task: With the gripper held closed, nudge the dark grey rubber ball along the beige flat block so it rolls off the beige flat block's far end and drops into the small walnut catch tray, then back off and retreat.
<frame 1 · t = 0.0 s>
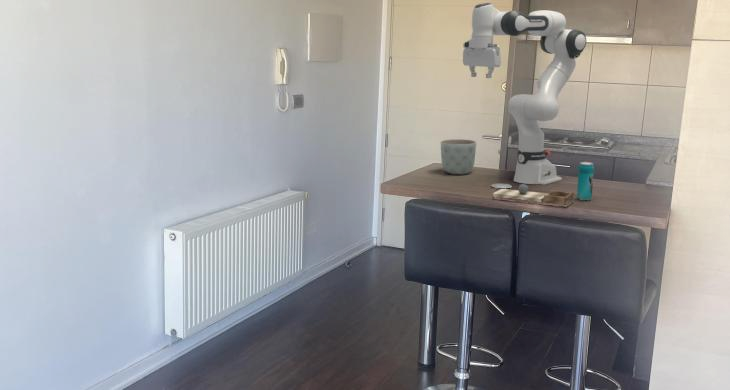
hand: (481, 77, 299), 48 cm above the breakfast bar, fingers open, 8 cm apart
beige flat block: (520, 199, 292), on the breakfast bar
brown square tray: (557, 203, 284), on the breakfast bar
ball: (523, 188, 290), point 4 cm above the breakfast bar, touching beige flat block
planter: (457, 173, 346), on the breakfast bar
beverage can: (584, 199, 291), on the breakfast bar
coaster: (501, 187, 315), on the breakfast bar
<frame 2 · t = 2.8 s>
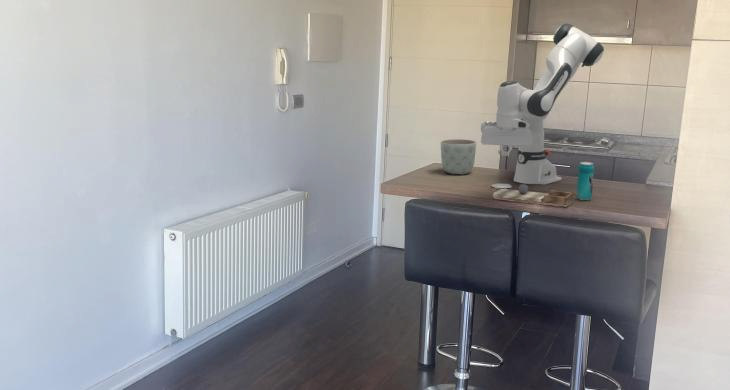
hand: (505, 156, 291), 17 cm above the breakfast bar, fingers closed
nothing on the breakfast bar moved.
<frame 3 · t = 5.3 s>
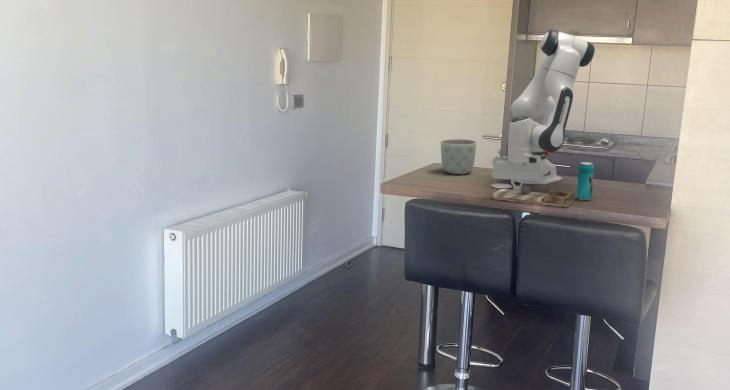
hand: (517, 190, 292), 4 cm above the breakfast bar, fingers closed
ball: (525, 189, 290), point 4 cm above the breakfast bar, tilted 31°, touching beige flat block
everything else where it was.
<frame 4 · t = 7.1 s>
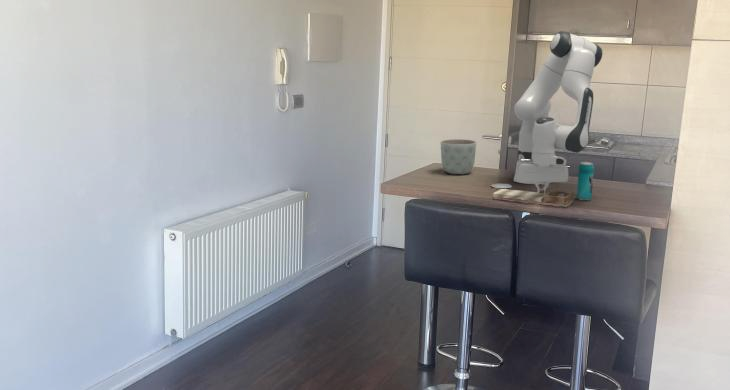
hand: (541, 193, 287), 4 cm above the breakfast bar, fingers closed
ball: (561, 198, 284), point 2 cm above the breakfast bar, tilted 108°
everything else where it was.
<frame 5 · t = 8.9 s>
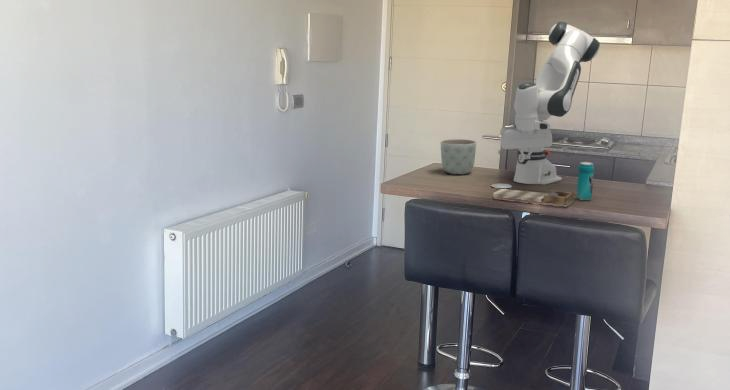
hand: (526, 159, 287), 17 cm above the breakfast bar, fingers closed
ball: (553, 197, 286), point 2 cm above the breakfast bar, tilted 14°
everything else where it was.
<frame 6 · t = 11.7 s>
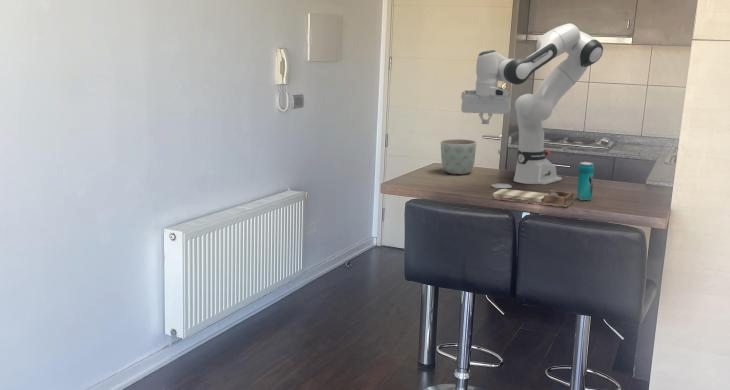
hand: (485, 124, 299), 29 cm above the breakfast bar, fingers closed
nothing on the breakfast bar moved.
at the end: ball 2.5 cm from the brown square tray (horizontally); ball point 2.0 cm above the breakfast bar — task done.
